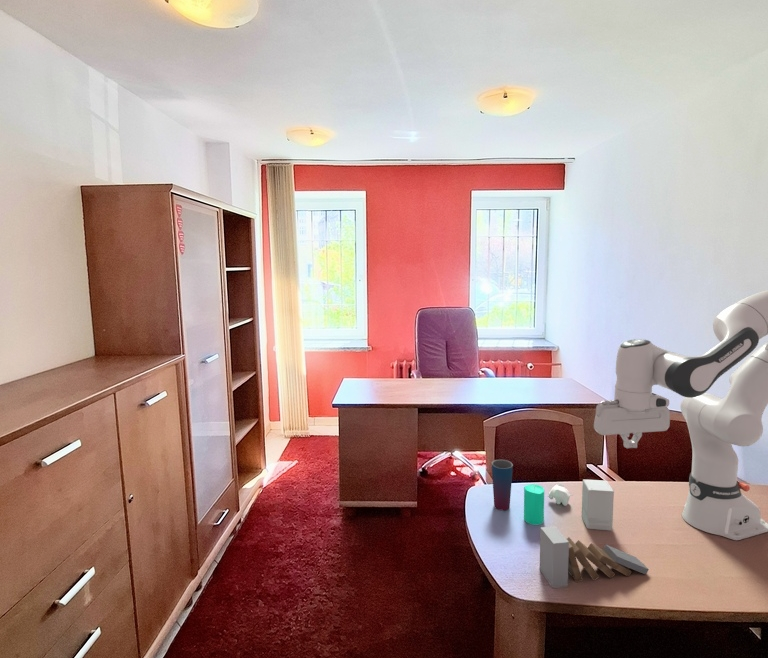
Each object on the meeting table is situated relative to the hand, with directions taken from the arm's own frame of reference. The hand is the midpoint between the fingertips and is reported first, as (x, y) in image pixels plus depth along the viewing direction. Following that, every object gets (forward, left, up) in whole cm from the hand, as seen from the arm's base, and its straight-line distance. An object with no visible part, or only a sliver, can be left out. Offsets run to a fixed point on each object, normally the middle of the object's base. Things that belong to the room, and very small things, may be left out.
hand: (630, 447), depth 123 cm
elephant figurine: (+7, -24, -29) cm, 39 cm away
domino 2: (+16, +10, -29) cm, 35 cm away
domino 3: (+12, +10, -28) cm, 33 cm away
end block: (+27, +10, -29) cm, 41 cm away
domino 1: (+21, +10, -29) cm, 37 cm away
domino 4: (+7, +10, -28) cm, 31 cm away
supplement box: (+2, -11, -29) cm, 31 cm away
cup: (+27, -25, -29) cm, 47 cm away
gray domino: (+2, +10, -28) cm, 30 cm away
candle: (+20, -16, -29) cm, 39 cm away
